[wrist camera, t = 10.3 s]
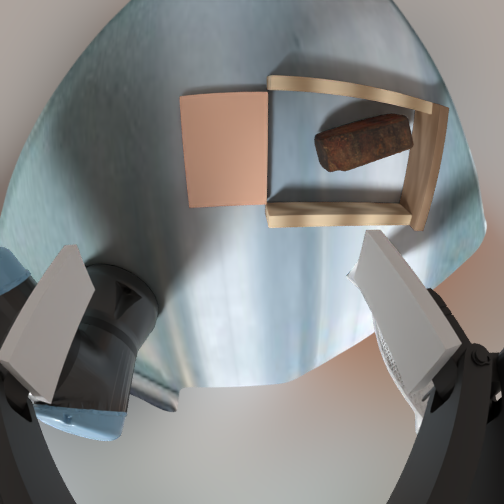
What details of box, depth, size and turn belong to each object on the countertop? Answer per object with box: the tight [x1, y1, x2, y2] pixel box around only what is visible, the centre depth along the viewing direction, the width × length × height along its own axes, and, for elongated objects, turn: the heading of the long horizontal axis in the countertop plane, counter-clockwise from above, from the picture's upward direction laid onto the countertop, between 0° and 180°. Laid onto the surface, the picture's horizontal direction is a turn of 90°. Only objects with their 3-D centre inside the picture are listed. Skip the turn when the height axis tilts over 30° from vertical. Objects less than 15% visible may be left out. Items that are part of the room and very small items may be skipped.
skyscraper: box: [346, 259, 434, 434], centre depth 28 cm, size 8×8×28 cm
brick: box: [314, 114, 414, 172], centre depth 26 cm, size 11×4×5 cm, turn 112°
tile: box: [180, 92, 268, 208], centre depth 28 cm, size 9×13×1 cm
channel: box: [265, 75, 449, 231], centre depth 27 cm, size 20×16×5 cm
